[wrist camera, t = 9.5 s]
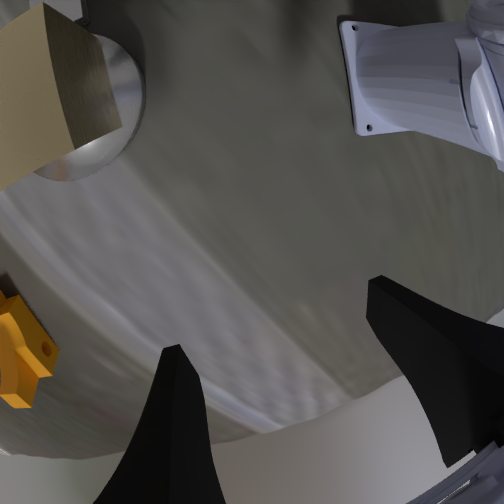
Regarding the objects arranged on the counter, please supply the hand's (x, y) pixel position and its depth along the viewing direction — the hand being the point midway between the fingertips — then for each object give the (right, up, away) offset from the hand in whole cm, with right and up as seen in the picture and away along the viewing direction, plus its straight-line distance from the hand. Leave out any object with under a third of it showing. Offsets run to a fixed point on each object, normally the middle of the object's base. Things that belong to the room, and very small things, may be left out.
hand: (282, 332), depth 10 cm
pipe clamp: (-22, -1, +7) cm, 23 cm away
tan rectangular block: (-10, +10, +1) cm, 15 cm away
